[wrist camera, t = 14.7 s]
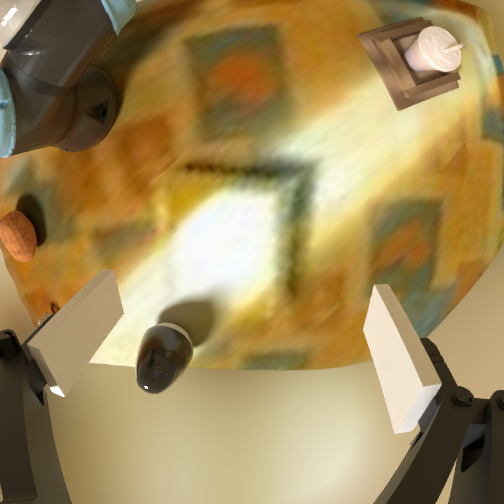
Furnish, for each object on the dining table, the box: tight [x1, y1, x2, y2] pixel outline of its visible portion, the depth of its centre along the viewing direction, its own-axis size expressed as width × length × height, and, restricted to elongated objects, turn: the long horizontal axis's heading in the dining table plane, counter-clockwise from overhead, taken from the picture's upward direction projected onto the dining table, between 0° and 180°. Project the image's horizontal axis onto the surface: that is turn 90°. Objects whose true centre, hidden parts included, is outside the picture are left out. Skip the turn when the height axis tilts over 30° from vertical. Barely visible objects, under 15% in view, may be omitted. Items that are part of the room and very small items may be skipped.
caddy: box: [357, 17, 461, 111], centre depth 31 cm, size 13×13×4 cm
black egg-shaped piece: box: [135, 323, 193, 394], centre depth 49 cm, size 10×10×15 cm
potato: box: [0, 211, 37, 262], centre depth 47 cm, size 9×11×8 cm
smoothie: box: [402, 26, 464, 72], centre depth 26 cm, size 6×6×14 cm
